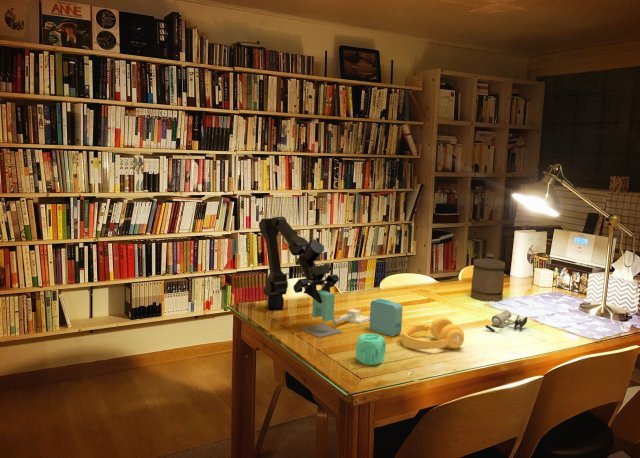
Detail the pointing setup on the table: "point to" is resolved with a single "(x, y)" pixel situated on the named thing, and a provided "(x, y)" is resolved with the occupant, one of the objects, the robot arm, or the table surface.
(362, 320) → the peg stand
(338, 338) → the table surface
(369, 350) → the decorative dice
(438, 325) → the headset
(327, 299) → the teal arch block
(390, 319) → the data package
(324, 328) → the grey mat
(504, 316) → the clip-on lamp
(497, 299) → the wooden container
